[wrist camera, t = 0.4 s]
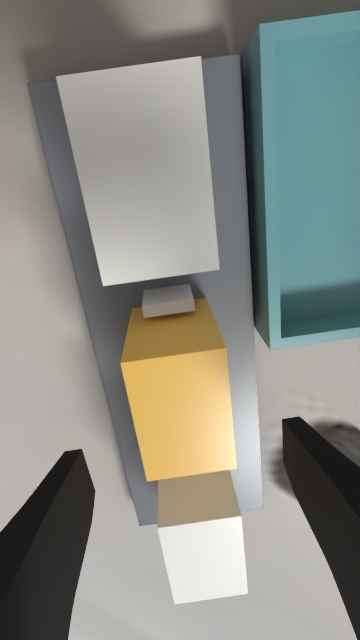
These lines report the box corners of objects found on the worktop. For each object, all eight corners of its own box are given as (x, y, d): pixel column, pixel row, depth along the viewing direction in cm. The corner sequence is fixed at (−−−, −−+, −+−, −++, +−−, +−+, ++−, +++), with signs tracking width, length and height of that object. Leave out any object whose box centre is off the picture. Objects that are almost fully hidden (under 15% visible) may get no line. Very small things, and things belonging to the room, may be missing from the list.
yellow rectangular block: (205, 297, 18) (226, 347, 13) (215, 391, 20) (237, 468, 15) (132, 308, 18) (120, 362, 13) (150, 400, 20) (147, 481, 15)
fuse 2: (220, 430, 22) (241, 516, 16) (227, 498, 24) (248, 593, 18) (158, 439, 22) (157, 528, 16) (171, 506, 24) (174, 604, 18)
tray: (459, 20, 16) (519, -13, 13) (417, 306, 21) (454, 323, 18) (242, 50, 15) (259, 24, 13) (256, 329, 21) (270, 350, 18)
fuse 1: (185, 103, 15) (200, 56, 9) (200, 241, 17) (219, 269, 12) (94, 116, 15) (55, 76, 9) (121, 252, 17) (103, 286, 12)
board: (232, 65, 16) (255, 29, 12) (257, 490, 26) (274, 542, 22) (39, 92, 16) (1, 64, 12) (140, 507, 26) (137, 562, 22)
